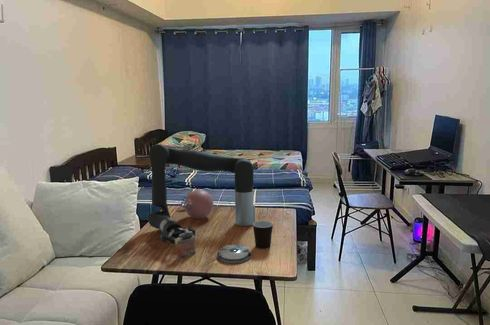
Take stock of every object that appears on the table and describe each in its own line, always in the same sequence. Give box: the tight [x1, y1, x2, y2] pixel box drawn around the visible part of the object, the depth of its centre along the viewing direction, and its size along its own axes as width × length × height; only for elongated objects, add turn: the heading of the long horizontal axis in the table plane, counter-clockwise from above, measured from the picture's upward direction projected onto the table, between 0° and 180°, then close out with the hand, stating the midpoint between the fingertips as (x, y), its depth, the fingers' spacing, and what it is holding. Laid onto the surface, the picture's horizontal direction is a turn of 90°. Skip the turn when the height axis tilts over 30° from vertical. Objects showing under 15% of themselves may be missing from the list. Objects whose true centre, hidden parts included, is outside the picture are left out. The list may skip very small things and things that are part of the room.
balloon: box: [182, 189, 214, 220], centre depth 199 cm, size 15×20×15 cm
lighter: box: [176, 231, 197, 260], centre depth 154 cm, size 8×3×10 cm, turn 134°
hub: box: [216, 244, 252, 265], centre depth 153 cm, size 14×14×3 cm
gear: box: [181, 195, 187, 205], centre depth 220 cm, size 11×6×10 cm
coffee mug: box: [252, 220, 274, 250], centre depth 164 cm, size 12×9×10 cm
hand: (184, 239), depth 156 cm, fingers open, 8 cm apart
